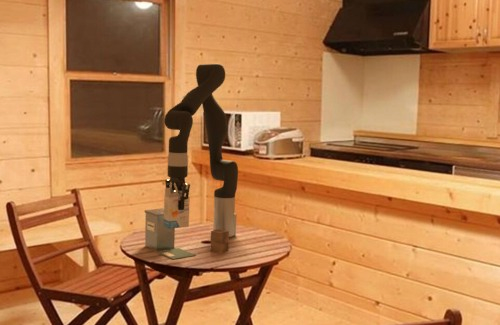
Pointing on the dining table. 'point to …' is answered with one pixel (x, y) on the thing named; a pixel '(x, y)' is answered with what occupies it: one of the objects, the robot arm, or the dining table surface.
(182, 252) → the pad
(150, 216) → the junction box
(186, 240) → the dining table surface
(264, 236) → the dining table surface
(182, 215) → the ink box
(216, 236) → the walnut block
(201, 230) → the dining table surface
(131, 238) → the dining table surface
